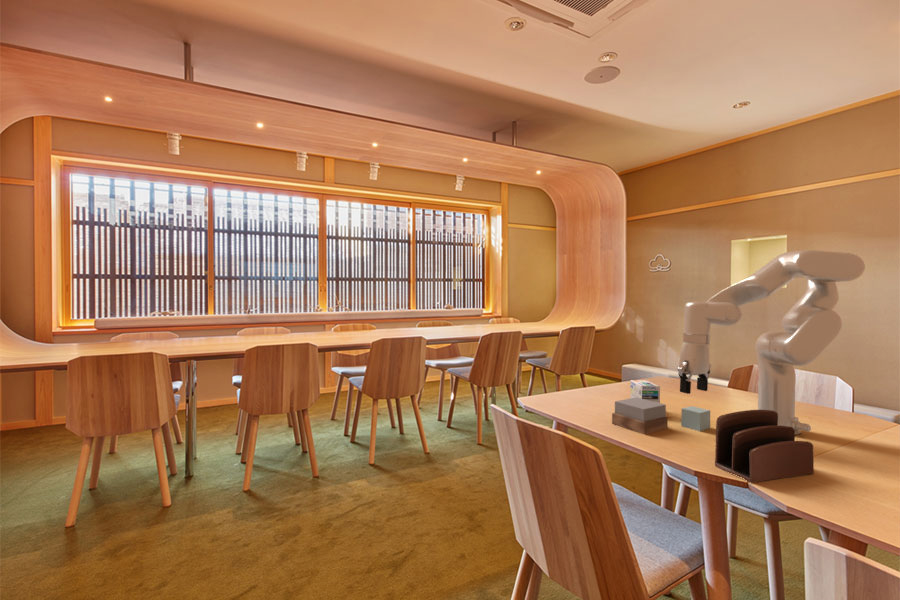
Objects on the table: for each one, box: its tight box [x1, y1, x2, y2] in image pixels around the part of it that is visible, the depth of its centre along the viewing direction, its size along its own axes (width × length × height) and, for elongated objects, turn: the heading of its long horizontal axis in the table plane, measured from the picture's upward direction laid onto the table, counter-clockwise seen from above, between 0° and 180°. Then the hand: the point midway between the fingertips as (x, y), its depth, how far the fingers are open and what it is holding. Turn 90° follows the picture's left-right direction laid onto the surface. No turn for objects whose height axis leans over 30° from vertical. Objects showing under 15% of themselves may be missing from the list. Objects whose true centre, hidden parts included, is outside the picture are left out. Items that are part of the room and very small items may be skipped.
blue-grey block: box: [680, 405, 711, 432], centre depth 138 cm, size 6×6×6 cm
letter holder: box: [714, 409, 815, 484], centre depth 105 cm, size 10×20×14 cm, turn 105°
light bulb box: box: [630, 379, 661, 403], centre depth 156 cm, size 11×7×11 cm, turn 179°
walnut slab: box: [611, 412, 669, 435], centre depth 139 cm, size 12×12×4 cm
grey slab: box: [614, 397, 667, 422], centre depth 140 cm, size 11×11×4 cm
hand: (693, 391), depth 138 cm, fingers open, 9 cm apart
